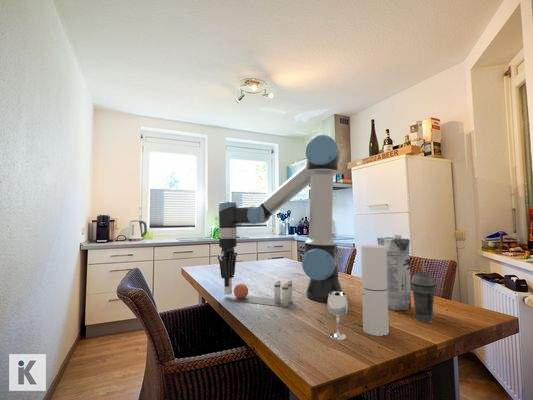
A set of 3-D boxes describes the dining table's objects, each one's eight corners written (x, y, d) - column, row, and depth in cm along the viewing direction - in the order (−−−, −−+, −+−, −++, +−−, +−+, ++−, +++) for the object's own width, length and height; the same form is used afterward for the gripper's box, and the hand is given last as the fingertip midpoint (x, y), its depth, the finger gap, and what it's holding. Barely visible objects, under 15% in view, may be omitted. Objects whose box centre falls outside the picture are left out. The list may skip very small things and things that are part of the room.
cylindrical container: (377, 337, 78) (374, 247, 79) (357, 328, 84) (356, 245, 86) (394, 332, 81) (391, 246, 82) (374, 324, 87) (372, 244, 89)
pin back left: (289, 305, 106) (289, 282, 107) (287, 307, 104) (287, 284, 105) (283, 304, 107) (283, 282, 108) (281, 306, 105) (281, 283, 105)
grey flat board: (292, 301, 111) (292, 300, 111) (286, 307, 104) (286, 306, 104) (238, 295, 120) (238, 294, 120) (230, 300, 112) (230, 300, 112)
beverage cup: (430, 316, 94) (428, 256, 96) (441, 324, 87) (439, 260, 88) (408, 315, 95) (406, 256, 96) (417, 323, 88) (415, 259, 89)
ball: (250, 297, 117) (250, 282, 117) (244, 301, 111) (244, 286, 112) (237, 295, 119) (237, 281, 119) (231, 299, 113) (231, 285, 114)
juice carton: (394, 312, 98) (391, 235, 100) (376, 303, 108) (374, 234, 110) (415, 310, 100) (413, 235, 102) (395, 301, 110) (393, 233, 112)
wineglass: (325, 332, 81) (324, 291, 82) (344, 331, 82) (343, 290, 82) (331, 341, 76) (330, 296, 76) (351, 340, 76) (351, 296, 77)
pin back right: (292, 301, 111) (292, 280, 112) (291, 303, 109) (291, 281, 109) (286, 300, 112) (286, 279, 112) (285, 302, 110) (284, 280, 110)
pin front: (281, 302, 110) (281, 280, 111) (279, 304, 108) (279, 281, 108) (275, 301, 111) (275, 280, 111) (273, 303, 109) (273, 281, 109)
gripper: (227, 236, 126) (227, 289, 125) (212, 238, 114) (212, 297, 113) (242, 236, 124) (242, 290, 122) (228, 239, 111) (228, 298, 110)
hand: (228, 293), depth 117 cm, fingers closed
